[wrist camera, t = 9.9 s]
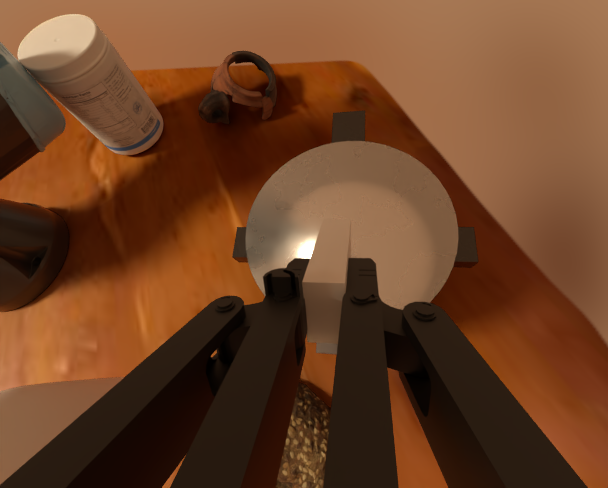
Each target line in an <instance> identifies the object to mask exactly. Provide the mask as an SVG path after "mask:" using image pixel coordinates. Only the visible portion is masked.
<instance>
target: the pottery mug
mask: <svg viewBox="0 0 608 488" xmlns="http://www.w3.org/2000/svg"><path fill="white" fill-rule="evenodd" d="M233 62H235V63H236V64H237V63H243V62H252V63H254V64H255V65H256V66H257V67H258V69H259V70H262V71H263V72H265V73H266V75H267V76H268V78H269V86H268V87H267V88H266V96H264V97H263V98H262V95H261V93H260V92H254V91H248V90H246V89H243V88H242V87H240V86H238V85H237V84H235V82H234V81H233V80H232V78H231V77H230V75H229V71H228V67H229V65H230V64H231V63H233ZM227 95H230V96H232V102H235V103H239V104H242V105H247V106H251V107H262V111H263V113H262V119H263V120H266V119H267V118H269V117H270V116H271V113H272V112H273V110H272V109H273V107H275V104H276V98H277V88H276V77H275V74H274V71H273V69H272V67H271V66H270V65H269V63H268V62H267V61H266V60H265V59H263V58H262V57H261V56H259V55H257V54H255V53H252V52H248V51H237V52H233V53H232V54H230V55H228V56H227V57H226V59H225V60H224V62H223V63H222V64H221V65H220V66H219V67H218V68H217V69H216V70H215V72H214V74H213V77H212V81H211V92H210V93H209V94H207V95H206V96H205V98H204V99H203V100H202V102H201V103H200V104H199V108H198V110H199V115H200V116H201V118H202V119H203V120H205V121H206V122H209V123H218V122H222V123H224V124H229V123H230V121H229V117H228V111H229V109H230V103H229V99H228V97H227Z"/></svg>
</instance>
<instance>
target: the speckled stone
mask: <svg viewBox="0 0 608 488" xmlns="http://www.w3.org/2000/svg"><path fill="white" fill-rule="evenodd" d="M330 415H331V408H329V407H328V406H327V405H325V403H324V402H323V401H321V400H320V399H319V398H318V397H317V396H316V394H314V393H313V392H312V391H311V390H310V389H309V388H308V387H307V386H306V385H304V384H302V383H300V382H299V384H298V388H297V393H296V397H295V402H294V406H293V411H292V415H291V420H290V424H289V429H288V433H287V438H286V442H285V447H284V451H283V456H282V460H281V465H280V469H279V474H278V478H277V483H276V487H275V488H323V483H324V473H325V463H326V454H327V444H328V434H329V425H330Z"/></svg>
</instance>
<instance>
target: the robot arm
mask: <svg viewBox="0 0 608 488" xmlns="http://www.w3.org/2000/svg"><path fill="white" fill-rule="evenodd" d="M65 124H66V123H65V118H64V116H63V114H62V112H61V111H60V109H59V108H58V106H57V105H56V104H55V103H54V101H53V100H52V99H51V98H50V96H49V95H48V94H47V93H46V92H45V90H44V89H43V88H42V87H41V86H40V85H39V84H38V82H37V81H36V80H35V79H34V78H33V77H32V76H31V75H30V73H29V72H28V71H27V70H26V69H25V68H24V67H23V66H22V65H21V63H20V62H19V61H18V60H17V59H16V58H15V57H14V56H13V55H12V54H11V53H10V52H9V51H8V50H7V48H6V47H5V46H4V45H3V44H2V43H1V42H0V181H1V180H2V179H3V178H5V177H6V176H7V175H9V174H10V173H11V172H13V171H14V170H15V169H17V168H18V167H20V166H21V165H22V164H24V163H25V162H26V161H28V160H29V159H30V158H32V157H33V156H34V155H36V154H37V153H39V152H43V151H44V150H45V147H46V146H47V145H48V144H49V143H51V142H52V141H53V140H54V139H55V138H57V137H58V136H59V135H60V134H61V133H62V132H63V131H64V129H65ZM68 245H69V233H68V228H67V225H66V223H65V221H64V220H63V219H62V218H61V217H60V216H59V215H58V214H56V213H55V212H52V211H50V210H48V209H46V208H44V207H42V206H39V205H36V204H31V203H18V202H14V201H9V200H4V199H0V312H4V311H10V310H14V309H17V308H19V307H22V306H24V305H25V304H27V303H29V302H31V301H32V300H33V299H35V298H36V297H37V296H39V295H40V294H41V293H42V292H43V291H44V290H45V289H46V288H47V287H48V286H49V285H50V283H51V282H52V281H53V280H54V278H55V277H56V275H57V274H58V272H59V271H60V269H61V267H62V265H63V263H64V260H65V257H66V254H67V251H68ZM263 282H264V288H265V295H266V296H265V298H264V300H263V302H260V303H256V304H250V305H244V302H243V300H242V299H241V298H240V297H237V296H224V297H221V298H218V299H216V300H214V301H213V302H211V303H210V304H209V305H208V306H207V307H205V308H204V309H203V310H202V311H201V312H200V313H198V314H197V315H196V316H195V317H194V318H193V319H191V320H190V321H189V322H188V323H187V324H186V325H185V326H183V327H182V328H181V329H180V330H179V331H178V332H176V333H175V334H174V335H173V336H172V337H171V338H169V339H168V340H167V341H166V342H165V343H164V344H163V345H161V346H160V347H159V348H158V349H157V350H156V351H154V352H153V353H152V354H151V355H150V356H149V357H147V358H146V359H145V360H144V361H143V362H142V363H141V364H139V365H138V366H137V367H136V368H135V369H134V370H132V371H131V372H130V373H129V374H128V375H127V376H125V377H124V378H123V379H122V380H121V381H120V382H119V383H117V384H116V385H115V386H114V387H113V388H112V389H110V390H109V391H108V392H107V393H106V394H105V395H103V396H102V397H101V398H100V399H99V400H98V401H96V402H95V403H94V404H93V405H92V406H91V407H90V408H88V409H87V410H86V411H85V412H84V413H83V414H81V415H80V416H79V417H78V418H77V419H76V420H74V421H73V422H72V423H71V424H70V425H69V426H68V427H66V428H65V429H64V430H63V431H62V432H61V433H59V434H58V435H57V436H56V437H55V438H54V439H52V440H51V441H50V442H49V443H48V444H47V445H46V446H44V447H43V448H42V449H41V450H40V451H39V452H37V453H36V454H35V455H34V456H33V457H32V458H30V459H29V460H28V461H27V462H26V463H25V464H24V465H22V466H21V467H20V468H19V469H18V470H17V471H15V472H14V473H13V474H12V475H11V476H10V477H8V478H7V479H6V480H5V481H4V482H3V483H2V484H0V488H162V486H163V485H164V484H165V482H166V481H167V480H168V478H169V477H170V475H171V474H172V473H173V471H174V470H175V469H176V467H177V466H178V465H179V463H180V462H181V461H182V459H183V458H184V456H185V455H186V454H187V455H186V457H185V459H184V461H183V463H182V465H181V467H180V469H179V471H178V473H177V475H176V477H175V479H174V481H173V483H172V485H171V487H170V488H275V487H276V483H277V478H278V474H279V469H280V465H281V460H282V456H283V451H284V447H285V442H286V438H287V433H288V429H289V424H290V420H291V415H292V411H293V406H294V402H295V397H296V393H297V388H298V384H299V379H300V375H301V370H302V366H303V361H304V357H305V352H306V349H305V338H306V334H307V340H308V342H316V343H332V344H338V347H337V357H336V366H335V376H334V386H333V395H332V405H331V415H330V425H329V434H328V444H327V454H326V463H325V473H324V483H323V488H398V477H397V466H396V456H395V445H394V435H393V424H392V413H391V403H390V392H389V382H388V371H387V367H388V368H391V369H394V370H397V371H399V376H400V379H401V381H402V383H403V385H404V388H405V390H406V392H407V394H408V397H409V399H410V401H411V404H412V406H413V408H414V410H415V413H416V415H417V417H418V419H419V422H420V424H421V426H422V428H423V431H424V433H425V435H426V438H427V440H428V442H429V444H430V447H431V449H432V451H433V453H434V456H435V458H436V460H437V463H438V465H439V467H440V469H441V472H442V474H443V476H444V478H445V481H446V483H447V485H448V488H588V487H587V486H586V485H585V484H584V482H583V481H582V480H581V479H580V477H579V476H578V475H577V474H576V472H575V471H574V470H573V469H572V468H571V466H570V465H569V464H568V463H567V461H566V460H565V459H564V458H563V456H562V455H561V454H560V453H559V452H558V450H557V449H556V448H555V447H554V445H553V444H552V443H551V442H550V440H549V439H548V438H547V437H546V435H545V434H544V433H543V432H542V431H541V429H540V428H539V427H538V426H537V424H536V423H535V422H534V421H533V419H532V418H531V417H530V416H529V415H528V413H527V412H526V411H525V410H524V408H523V407H522V406H521V405H520V403H519V402H518V401H517V400H516V398H515V397H514V396H513V395H512V394H511V392H510V391H509V390H508V389H507V387H506V386H505V385H504V384H503V382H502V381H501V380H500V379H499V378H498V376H497V375H496V374H495V373H494V371H493V370H492V369H491V368H490V366H489V365H488V364H487V363H486V361H485V360H484V359H483V358H482V357H481V355H480V354H479V353H478V352H477V350H476V349H475V348H474V347H473V345H472V344H471V343H470V342H469V341H468V339H467V338H466V337H465V336H464V334H463V333H462V332H461V331H460V329H459V328H458V327H457V326H456V324H455V323H454V322H453V321H452V320H451V318H450V317H449V316H448V315H447V313H446V312H445V311H444V310H443V309H441V308H440V307H439V306H437V305H434V304H432V303H428V302H412V303H409V304H407V305H406V306H405V307H404V309H403V310H401V309H397V308H394V307H391V306H389V305H387V304H385V303H384V302H383V301H382V300H381V299H380V297H379V292H378V281H377V271H376V263H375V262H374V261H373V260H372V259H371V258H351V219H323V221H322V224H321V227H320V230H319V233H318V236H317V239H316V242H315V245H314V248H313V251H312V254H311V257H310V258H294V259H293V260H292V261H291V262H289V263H288V265H287V267H286V268H278V269H274V270H271V271H269V272H267V273H266V274H265V275H264V276H263ZM215 350H217V353H216V354H215V355H214V356H213V357H212V358H211V355H212V354H213V352H214V351H215ZM187 452H188V453H187Z"/></svg>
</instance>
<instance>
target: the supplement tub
mask: <svg viewBox="0 0 608 488" xmlns="http://www.w3.org/2000/svg"><path fill="white" fill-rule="evenodd" d="M18 59H19V62H20V63H21V64H22V66H23V67H24V68H25V69H26V70H28V71H29V73H30V75H31V76H32V77H33V78H35V80H36V81H37V82H38V83H40V84H41V85H42V86H43V87H44V88H45V89H46V90H47V91H48V92H49V93H50V94H51V95H52V96H53V97H54V98H55V99H56V100H58V101H59V102H60V103H61V104H62V105H63V106H64V107H65V108H66V109H67V110H68V111H69V112H70V113H71V114H72V115H73V116H75V117H76V118H77V119H78V120H79V121H80V122H81V123H82V124H83V125H84V126H85V127H86V128H87V129H88V130H89V131H90V132H91V133H92V134H94V135H95V136H96V137H97V138H98V139H99V140H100V141H101V142H102V143H103V144H104V145H105V146H106V147H107V148H109V149H110V150H111V151H113V152H114V153H117V154H120V155H133V154H138V153H141V152H143V151H145V150H147V149H148V148H150V147H151V146H153V145H154V144H155V143H156V141H157V140H158V139H159V137H160V136H161V134H162V131H163V125H164V124H163V118H162V116H161V114H160V113H159V111H158V110H157V108H156V107H155V105H154V104H153V102H152V101H151V99H150V98H149V97H148V95H147V94H146V92H145V91H144V90H143V88H142V87H141V85H140V84H139V82H138V81H137V80H136V78H135V77H134V75H133V74H132V72H131V71H130V69H129V68H128V67H127V65H126V64H125V62H124V61H123V60H122V58H121V57H120V55H119V54H118V52H117V51H116V49H115V48H114V47H113V45H112V44H111V43H110V41H109V39H108V38H107V37H106V36H105V34H104V33H103V31H101V30H100V29H99V27H98V26H97V24H96V23H95V22H94V21H93V20H92V19H91V18H89V17H87V16H84V15H79V14H68V15H62V16H58V17H55V18H52V19H50V20H48V21H45V22H44V23H42V24H40V25H39V26H37V27H36V28H34V29H33V30H32V31H31V32H29V34H27V36H26V37H25V38H24V39H23V41H22V42H21V44H20V46H19V49H18Z"/></svg>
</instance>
